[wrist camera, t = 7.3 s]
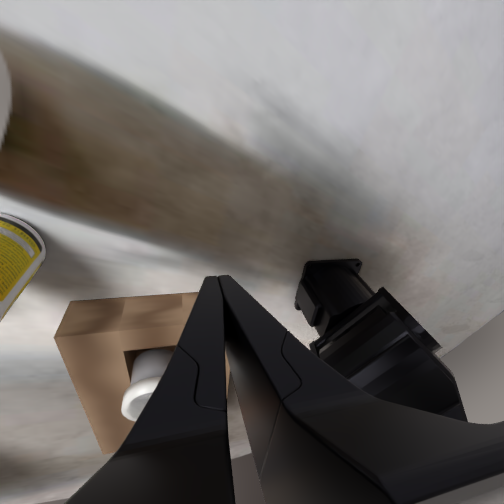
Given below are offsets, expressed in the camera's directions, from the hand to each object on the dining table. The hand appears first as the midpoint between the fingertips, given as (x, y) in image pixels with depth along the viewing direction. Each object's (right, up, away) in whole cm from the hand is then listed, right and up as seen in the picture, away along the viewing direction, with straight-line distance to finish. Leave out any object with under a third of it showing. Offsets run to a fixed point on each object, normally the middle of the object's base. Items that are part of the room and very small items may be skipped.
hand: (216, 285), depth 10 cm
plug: (-8, -9, +15) cm, 19 cm away
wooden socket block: (-9, -11, +21) cm, 26 cm away
